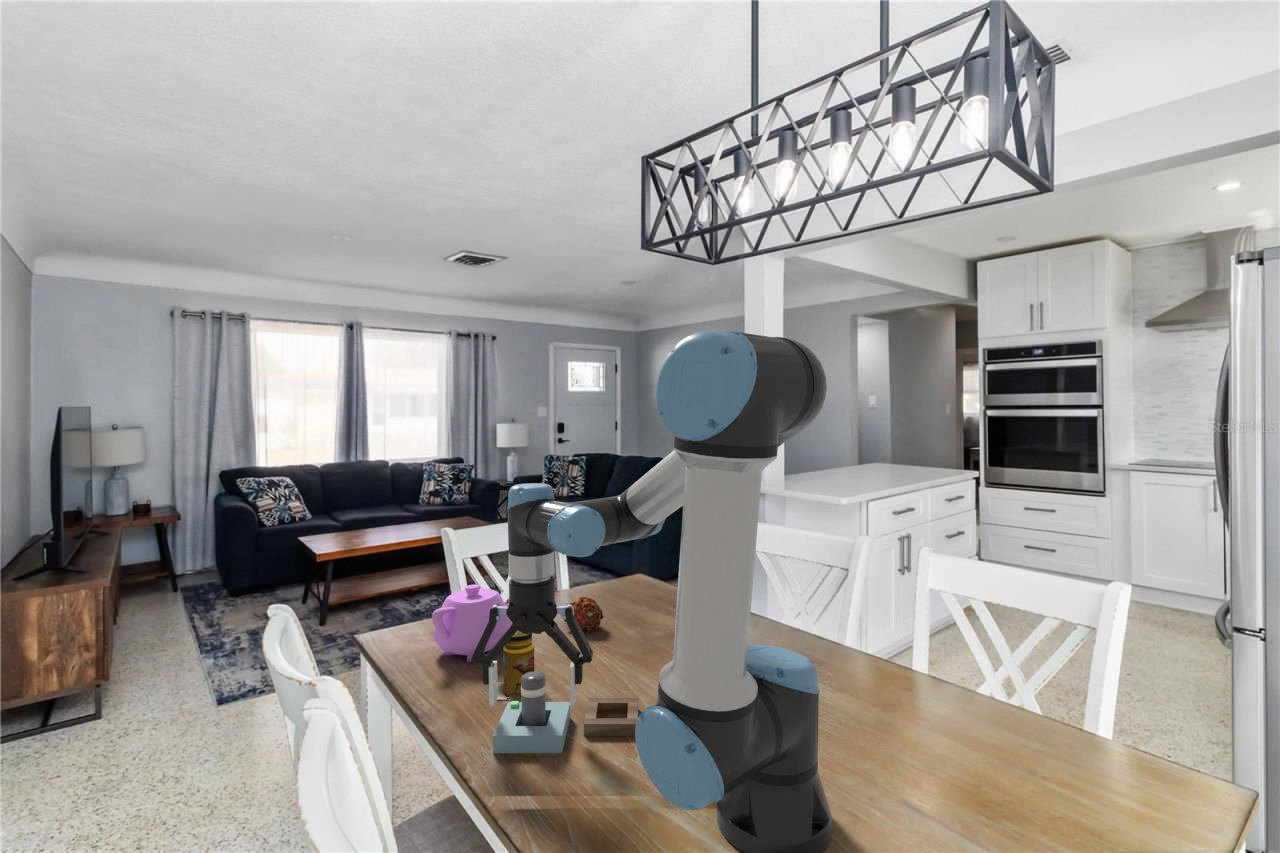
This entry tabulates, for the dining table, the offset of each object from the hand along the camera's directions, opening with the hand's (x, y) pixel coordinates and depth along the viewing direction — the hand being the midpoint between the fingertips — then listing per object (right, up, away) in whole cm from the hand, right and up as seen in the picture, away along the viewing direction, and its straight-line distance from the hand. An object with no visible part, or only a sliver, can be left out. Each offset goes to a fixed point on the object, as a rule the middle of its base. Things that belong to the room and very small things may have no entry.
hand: (533, 702), depth 103 cm
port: (0, -7, 0) cm, 7 cm away
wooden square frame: (+13, -6, +4) cm, 15 cm away
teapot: (-20, -6, +36) cm, 42 cm away
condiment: (-7, -6, +18) cm, 21 cm away
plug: (0, -6, 0) cm, 6 cm away
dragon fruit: (+3, -5, +52) cm, 53 cm away
